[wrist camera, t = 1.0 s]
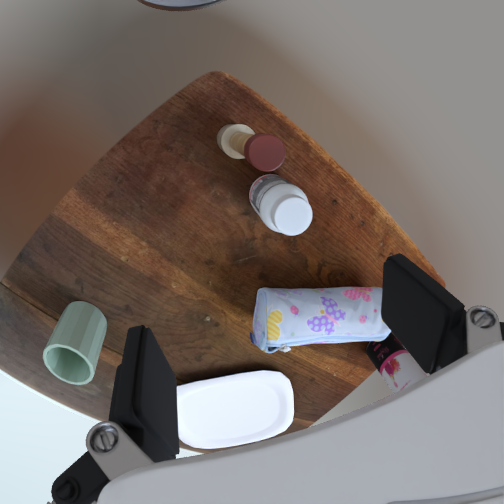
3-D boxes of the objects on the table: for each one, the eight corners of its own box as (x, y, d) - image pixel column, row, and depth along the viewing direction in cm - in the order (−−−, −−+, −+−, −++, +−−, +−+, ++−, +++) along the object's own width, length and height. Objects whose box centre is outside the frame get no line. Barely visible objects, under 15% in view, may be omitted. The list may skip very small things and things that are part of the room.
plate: (148, 382, 47) (147, 389, 46) (289, 355, 50) (291, 362, 49) (187, 447, 58) (187, 453, 57) (293, 427, 61) (295, 432, 60)
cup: (56, 306, 38) (33, 348, 29) (94, 296, 39) (75, 340, 30) (77, 342, 42) (62, 386, 33) (114, 334, 42) (103, 381, 33)
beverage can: (363, 341, 53) (402, 396, 39) (391, 324, 53) (434, 375, 39) (367, 360, 56) (402, 412, 42) (393, 345, 56) (432, 393, 42)
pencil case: (244, 325, 46) (257, 369, 37) (250, 275, 42) (266, 315, 34) (361, 318, 50) (387, 352, 42) (375, 274, 47) (407, 305, 38)
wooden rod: (213, 128, 33) (233, 131, 17) (243, 121, 34) (289, 120, 17) (220, 156, 35) (245, 186, 19) (249, 149, 35) (299, 174, 19)
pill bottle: (296, 202, 39) (326, 227, 30) (259, 221, 39) (280, 252, 30) (279, 165, 37) (307, 180, 28) (241, 185, 37) (257, 206, 28)
